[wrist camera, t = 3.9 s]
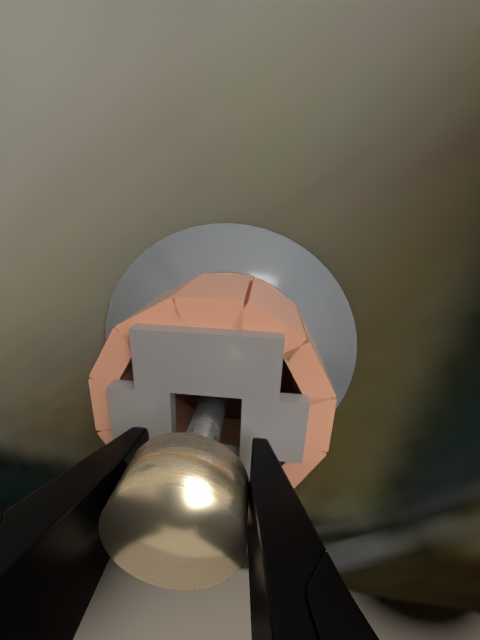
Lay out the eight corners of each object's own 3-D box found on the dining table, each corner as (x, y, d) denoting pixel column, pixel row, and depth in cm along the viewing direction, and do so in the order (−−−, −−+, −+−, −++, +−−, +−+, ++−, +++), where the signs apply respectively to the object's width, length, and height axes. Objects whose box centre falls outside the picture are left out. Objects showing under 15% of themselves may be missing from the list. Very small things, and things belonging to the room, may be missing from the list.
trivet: (334, 457, 16) (336, 465, 15) (123, 437, 17) (118, 444, 16) (375, 228, 12) (380, 228, 12) (97, 217, 13) (90, 217, 12)
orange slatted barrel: (298, 462, 16) (312, 569, 11) (153, 448, 16) (104, 544, 11) (322, 276, 12) (357, 311, 8) (139, 267, 13) (63, 294, 8)
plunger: (277, 416, 14) (289, 637, 6) (170, 406, 14) (67, 605, 7) (287, 311, 12) (319, 450, 5) (165, 304, 13) (21, 422, 5)
